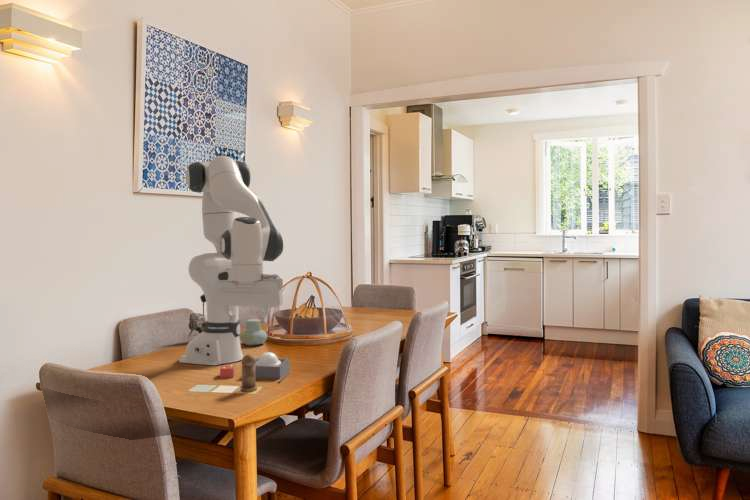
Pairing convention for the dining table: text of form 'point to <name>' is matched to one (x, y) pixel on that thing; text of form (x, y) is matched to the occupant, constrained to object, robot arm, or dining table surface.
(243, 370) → the walnut pawn
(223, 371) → the red die
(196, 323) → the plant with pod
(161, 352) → the dining table surface
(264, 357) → the dome
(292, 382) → the dining table surface
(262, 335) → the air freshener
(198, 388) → the game board
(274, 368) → the base
